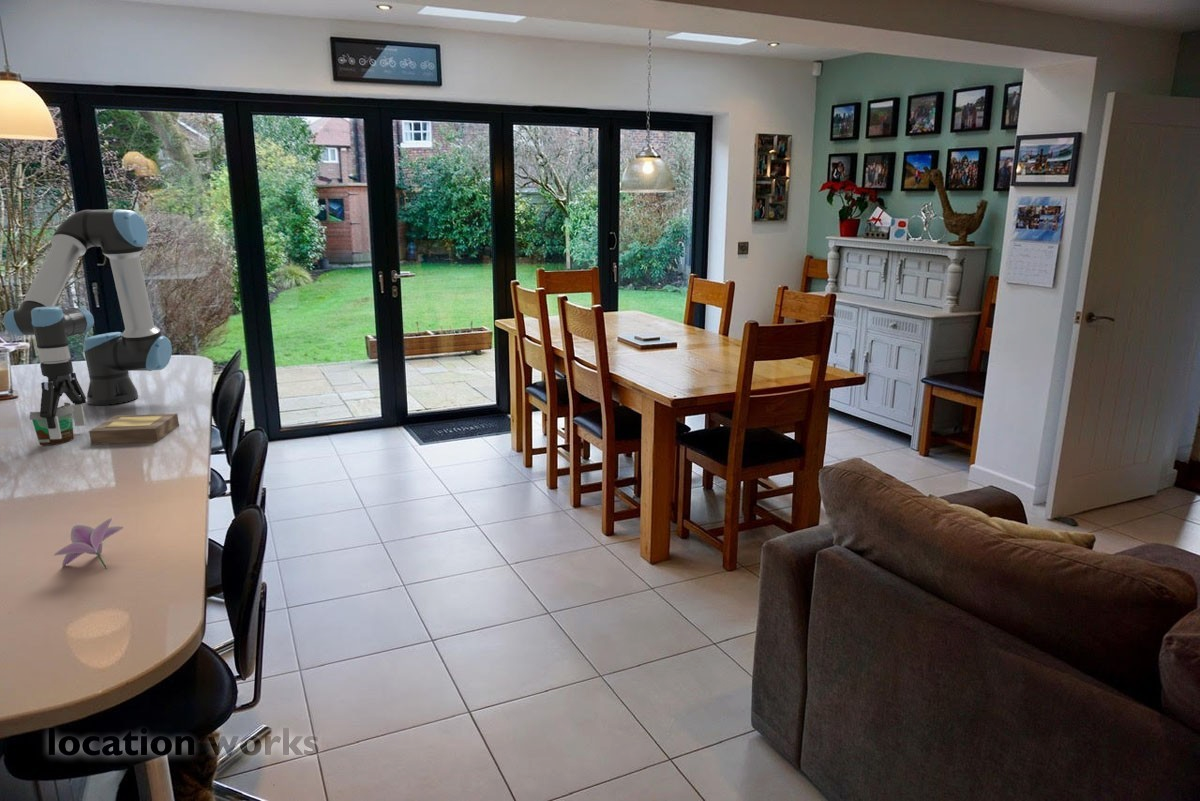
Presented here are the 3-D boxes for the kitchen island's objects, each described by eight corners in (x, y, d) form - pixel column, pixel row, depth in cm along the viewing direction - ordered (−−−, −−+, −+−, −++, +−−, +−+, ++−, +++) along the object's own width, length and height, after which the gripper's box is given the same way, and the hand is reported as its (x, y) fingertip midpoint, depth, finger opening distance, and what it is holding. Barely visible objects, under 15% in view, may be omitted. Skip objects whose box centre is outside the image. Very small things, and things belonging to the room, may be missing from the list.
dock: (117, 428, 241) (115, 415, 240) (179, 425, 243) (177, 412, 242) (91, 444, 225) (88, 430, 224) (157, 441, 227) (155, 427, 226)
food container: (53, 447, 222) (46, 413, 219) (35, 446, 223) (28, 412, 221) (89, 435, 233) (83, 402, 231) (71, 434, 235) (65, 402, 232)
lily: (139, 552, 160) (115, 512, 159) (134, 553, 150) (108, 509, 149) (76, 585, 155) (50, 543, 154) (66, 588, 144) (39, 542, 143)
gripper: (64, 353, 236) (76, 420, 242) (15, 370, 212) (30, 445, 218) (91, 352, 237) (102, 419, 242) (45, 369, 213) (59, 444, 218)
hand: (68, 432), depth 230 cm, fingers open, 13 cm apart
